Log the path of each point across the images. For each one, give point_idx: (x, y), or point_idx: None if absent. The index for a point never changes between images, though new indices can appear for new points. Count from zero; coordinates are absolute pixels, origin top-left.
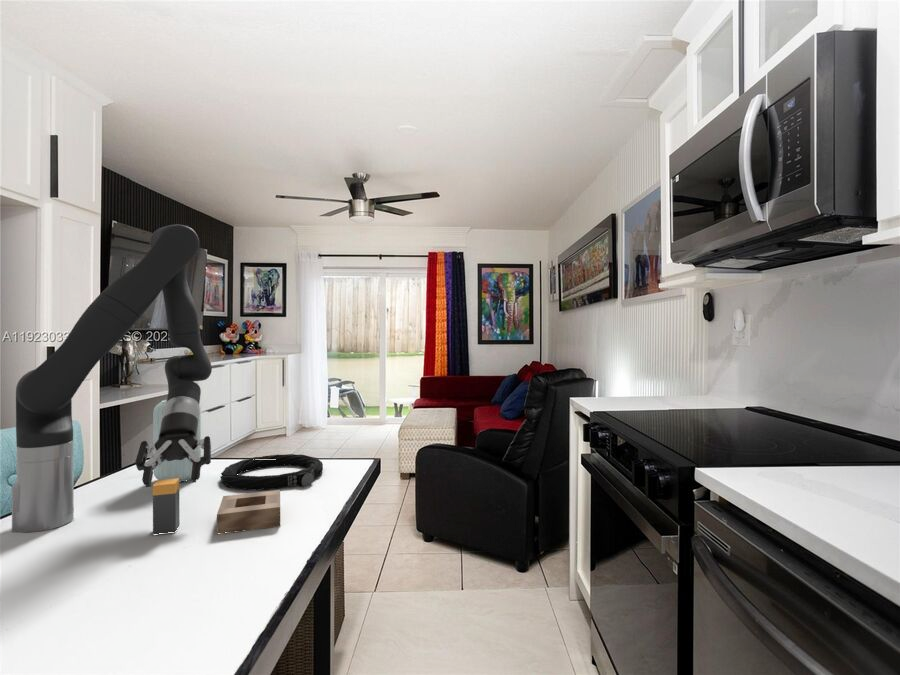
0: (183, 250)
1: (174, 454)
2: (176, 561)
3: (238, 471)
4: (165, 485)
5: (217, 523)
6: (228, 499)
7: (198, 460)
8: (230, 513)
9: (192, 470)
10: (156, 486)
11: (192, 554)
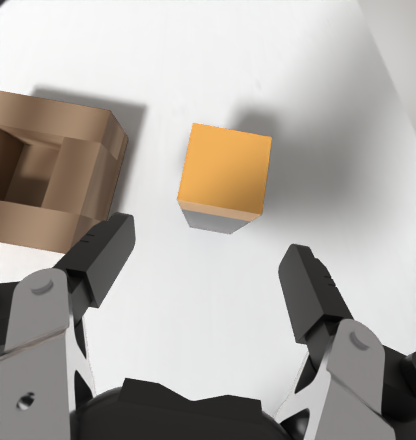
0: None
1: (188, 405)
2: (196, 65)
3: None
4: (227, 132)
5: (118, 123)
6: (62, 212)
7: (39, 277)
8: (81, 106)
9: (110, 235)
10: (257, 136)
11: (174, 77)
